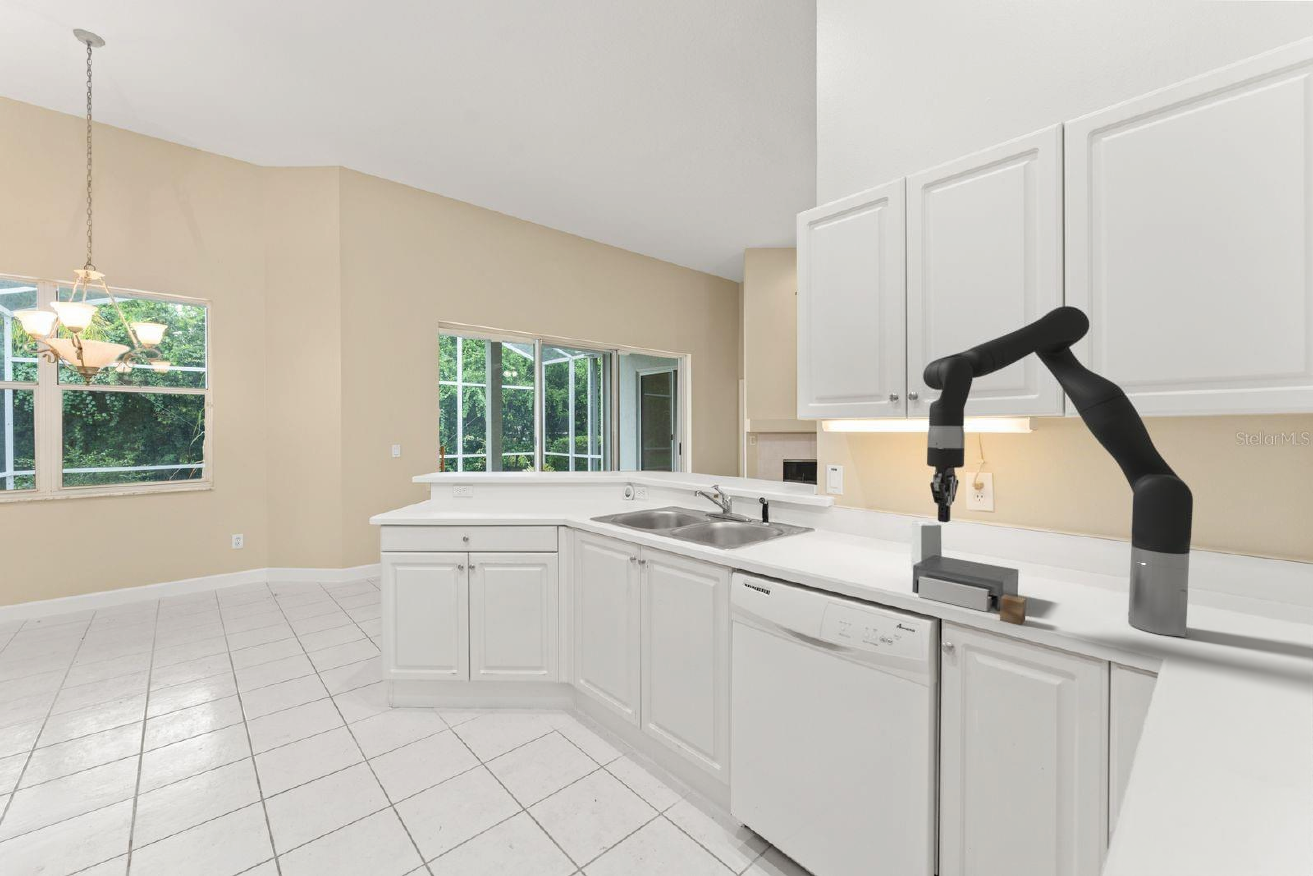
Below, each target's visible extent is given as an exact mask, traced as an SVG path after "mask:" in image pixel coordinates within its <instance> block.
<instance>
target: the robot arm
mask: <svg viewBox="0 0 1313 876" xmlns="http://www.w3.org/2000/svg"><path fill="white" fill-rule="evenodd" d="M1089 329H1090V320H1089V318H1088V316H1087V314H1085V312H1084V311H1082V310H1081V309H1080V308H1078V307H1075V306H1070V305H1068V306H1067V305H1064V306H1060V307H1057V308H1053V309H1052V310H1051V311H1049V312H1047V313H1046V314H1045V315H1043V316H1042V317H1041V318H1039V319H1037V320H1036V321H1034V322H1031V323H1030V324H1028V325H1026V326H1024V327H1021V328H1018V329H1016V330H1013V331H1012V332H1009V333H1007V334H1004V335H1002V336H1000V337H997V338H993V339H992V340H989V341H986V342H984V343H980V344H978V345H976V346H973V347H971V348H969V349H966V350H964V351H961V352H959V353H954V354H952V355H951V354H950V355H948V356H944V357H941V358H940V357H939V358H937V359H935V360H933V361H931V362H930V363H928V365H926V367H925V368H924V371H923V374H922V379H923V382H924V384H925V385H926V386H927V387H928V388H930V389H932V390H936V391H941V393H940V396H939V398H938V399H937V400H934V401H932V402H931V403H930V405H929V412H928V413H929V415H928V432H927V443H926V445H927V447H926V448H927V450H926V465H927V466H928V467H932V468H933V467H934V468H935V470H934V474H933V476H932V481H930V483H929V486H930V490H931V494H932V497H933V502H934V503H935V504H936V505H937V521H938V522H939V523H940V522H941V523H949V522H950V521H951V506H952V505H953V503H954V502H955V499H956V495H957V490H958V487H959V482H960V481H959V479H958V477H957V475H956V469H959V468H960V469H961V468H963V467H965V448H966V447H965V446H966V444H965V441H966V440H965V439H966V438H965V436H966V435H965V427H964V425H965V406H966V403H967V401H968V397H969V395H970V391H971V387H972V385H973V384H972V383H973V380H974V378H975V379H976V378H980V377H984V376H987V375H989V374H992V373H995V372H997V371H999V370H1002V369H1004V368H1006V367H1008V366H1010V365H1012V364H1014V363H1016V362H1018V361H1020V360H1022V359H1024V358H1026V357H1028V356H1029V355H1030V354H1033V353H1035V355H1036V356H1037V357H1038V358H1039V360H1040V361H1041V362H1042V363H1043V364H1044V366H1045V367H1046V368H1047V369H1048V370H1049V372H1050V373H1051V374H1052V376H1053V377H1054V378H1055V380H1056V381H1057V382H1058V384H1059V385H1060V387H1061V388H1062V389H1063V392H1065V394H1066V395H1067V397H1068V398H1069V400H1070V401H1071V403H1072V404H1073V406H1074V408H1075V409H1076V411H1077V413H1078V415H1079V416H1080V418H1081V419H1082V421H1083V422H1084V424H1085V425H1086V427H1087V428H1088V430H1089V431H1090V433H1091V434H1092V435H1093V437H1094V438H1095V439H1096V440H1097V441H1098V442H1099V444H1100V445H1101V446H1102V447H1103V448H1104V450H1106V451H1107V452H1108V454H1109V455H1111V457H1112V458H1113V459H1114V460H1115V461H1116V463H1117V465H1118V466H1119V468H1120V469H1121V471H1122V472H1123V475H1124V476H1125V478H1126V480H1127V482H1128V484H1129V486H1130V488H1131V491H1132V493H1133V495H1132V511H1131V512H1132V516H1131V517H1132V519H1131V520H1132V521H1131V544H1130V545H1131V547H1130V548H1131V549H1130V570H1129V590H1128V591H1129V593H1128V596H1129V597H1128V612H1127V622H1128V624H1129V625H1130V626H1132V627H1134V628H1137V629H1140V630H1142V631H1145V632H1149V633H1153V634H1159V635H1162V636H1163V635H1164V636H1172V637H1173V636H1175V637H1182V638H1187V625H1188V624H1187V619H1188V599H1189V597H1188V595H1189V569H1190V567H1189V565H1190V551H1191V539H1192V525H1193V512H1194V511H1193V510H1194V508H1193V507H1194V497H1193V493H1192V490H1191V488H1190V487H1189V486H1188V485H1187V483H1186V482H1185V481H1184V480H1182V479H1181V478H1180V477H1179V475H1177V474H1176V472H1175V471H1174V469H1172V468H1171V466H1170V465H1169V463H1167V462H1166V460H1165V459H1164V458H1163V457H1162V456H1161V454H1160V453H1159V451H1158V450H1157V448H1156V447H1155V445H1154V443H1153V441H1152V439H1151V437H1150V434H1149V433H1148V430H1147V428H1146V425H1145V424H1144V422H1143V420H1142V418H1141V416H1140V414H1139V413H1138V411H1137V409H1136V408H1135V406H1134V405H1133V403H1132V401H1131V400H1130V399H1129V398H1128V396H1127V394H1126V393H1125V392H1124V390H1123V389H1122V388H1121V387H1120V386H1119V385H1117V384H1116V383H1115V382H1113V381H1111V380H1109V379H1107V378H1106V377H1103V376H1101V375H1099V374H1097V373H1095V372H1093V371H1092V370H1090V369H1088V368H1087V367H1085V366H1084V365H1083V364H1082V363H1081V362H1080V361H1079V360H1078V358H1077V357H1076V356H1075V354H1074V353H1073V351H1072V350H1071V348H1070V347H1072V346H1073V345H1074V344H1075V345H1076V344H1077V343H1079V342H1080V341H1081V340H1082V339H1083V338H1084V337H1085V336H1086V335H1087V333H1088V332H1089ZM955 468H956V469H955Z"/></svg>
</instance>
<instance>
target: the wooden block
mask: <svg viewBox="0 0 1313 876" xmlns="http://www.w3.org/2000/svg"><path fill="white" fill-rule="evenodd" d="M1026 603H1027V598H1025V597H1020V596H1018V597H1016V596H1011V595H1006V594H1005V595H1004V596H1003V597H1001V604H1000V611H999V621H1001V622H1005V623H1010V624H1013V625H1018V626H1022V625H1023V624H1024V623H1025V622H1026V609H1027V607H1026V605H1027V604H1026Z"/></svg>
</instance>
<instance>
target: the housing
mask: <svg viewBox="0 0 1313 876" xmlns="http://www.w3.org/2000/svg"><path fill="white" fill-rule="evenodd" d="M1019 572H1020V571H1019V569H1018V568H1013V567H1012V568H1011V567H1005V566H1002V565H1001V566H1000V565H995V564H994V565H993V564H988V563H982V562H977V561H971V560H966V559H959V558H951V557H948V556H943V555H942V556H936V555H933V556H931V557H929V558H927V559H925V560H923V561H921V562H919V563H917V564H915V565H913V570H912V593H914V594H918V590H919V577H920V576H921V577H926V578H931V579H936V580H941V581H946V582H951V583H956V584H961V585H967V586H972V587H977V588H982V589H987V590H989V592H988V594H989V595H994V596H998V597H997V608H996V609H997V610H996V611H997V612H1000V604H1001V597H1003V596H1004V595H1005V594H1006V595H1011V596H1016V597H1019V596H1018V595H1019V594H1018V593H1019V592H1018V591H1019Z"/></svg>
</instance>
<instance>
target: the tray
mask: <svg viewBox="0 0 1313 876" xmlns="http://www.w3.org/2000/svg"><path fill="white" fill-rule="evenodd" d="M988 592H989V590H987V589H982V588H977V587H972V586H967V585H961V584H956V583H951V582H946V581H941V580H936V579H931V578H926V577H921V576H920V577H919V590H918V592H917V594H918V597H919V598H924V599H928V600H933V601H938V602H942V603H946V604H947V603H948V604H950V605H956V606H960V607H965V608H970V609H974V610H977V611H984V612H986V613H987V612H988V611H989V610H990V609H991V608H992V606H993V603H992V602H993V601H994V600H995V599H996V598H998V596H994V595H989V594H988Z"/></svg>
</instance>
